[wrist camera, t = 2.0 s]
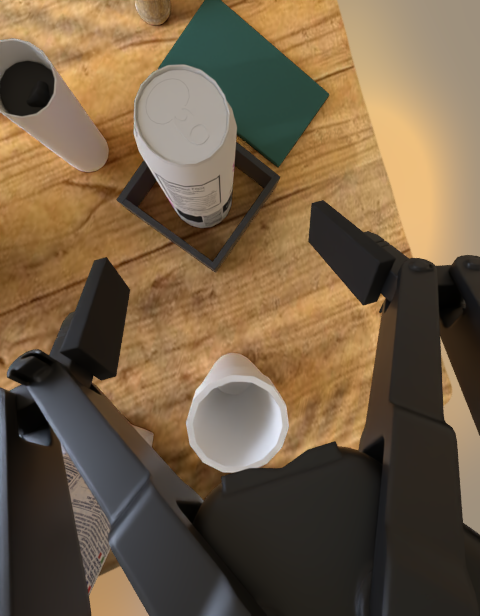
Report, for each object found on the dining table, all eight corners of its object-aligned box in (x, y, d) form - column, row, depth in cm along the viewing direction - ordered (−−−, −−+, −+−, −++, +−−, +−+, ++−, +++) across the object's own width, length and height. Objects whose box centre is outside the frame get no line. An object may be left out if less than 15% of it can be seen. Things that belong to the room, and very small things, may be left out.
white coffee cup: (109, 123, 30) (52, 39, 20) (114, 175, 30) (60, 118, 20) (57, 123, 29) (-28, 37, 19) (63, 176, 30) (-18, 118, 20)
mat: (159, 72, 30) (157, 68, 29) (210, -3, 30) (210, -9, 29) (278, 167, 32) (279, 165, 31) (327, 97, 31) (329, 93, 31)
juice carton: (96, 401, 32) (-535, 942, 5) (164, 429, 33) (-91, 1002, 6) (71, 455, 33) (-644, 1219, 6) (139, 481, 34) (-202, 1237, 7)
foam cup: (189, 384, 33) (167, 444, 20) (221, 331, 33) (218, 356, 20) (244, 414, 34) (256, 489, 21) (275, 362, 34) (307, 405, 21)
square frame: (128, 210, 31) (116, 199, 27) (189, 122, 30) (184, 100, 27) (215, 272, 32) (214, 270, 29) (274, 189, 32) (280, 176, 28)
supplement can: (160, 199, 31) (100, 113, 16) (201, 156, 31) (179, 29, 16) (203, 241, 32) (184, 196, 17) (243, 199, 32) (260, 117, 17)
